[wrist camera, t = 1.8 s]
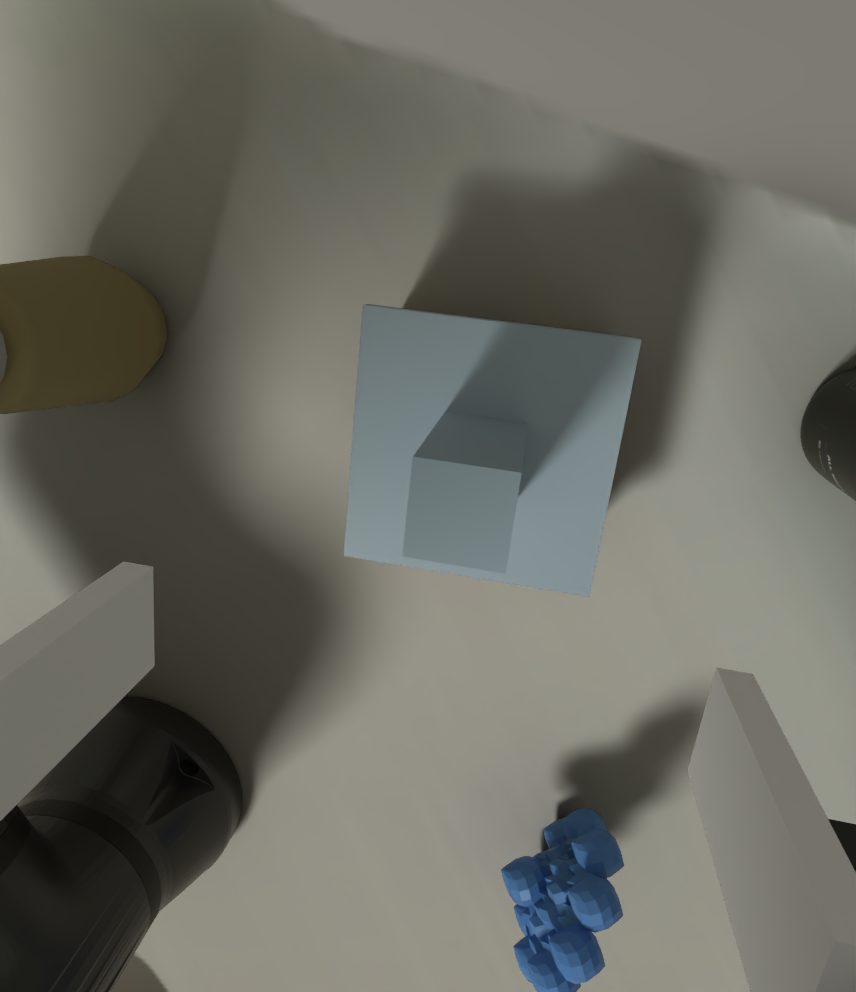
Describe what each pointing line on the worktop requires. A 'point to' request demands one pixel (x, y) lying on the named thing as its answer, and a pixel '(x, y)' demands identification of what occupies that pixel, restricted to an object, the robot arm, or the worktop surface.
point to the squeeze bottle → (74, 333)
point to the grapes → (565, 902)
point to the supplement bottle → (833, 432)
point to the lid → (485, 446)
